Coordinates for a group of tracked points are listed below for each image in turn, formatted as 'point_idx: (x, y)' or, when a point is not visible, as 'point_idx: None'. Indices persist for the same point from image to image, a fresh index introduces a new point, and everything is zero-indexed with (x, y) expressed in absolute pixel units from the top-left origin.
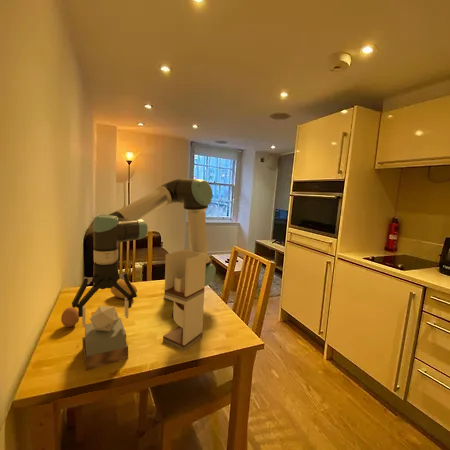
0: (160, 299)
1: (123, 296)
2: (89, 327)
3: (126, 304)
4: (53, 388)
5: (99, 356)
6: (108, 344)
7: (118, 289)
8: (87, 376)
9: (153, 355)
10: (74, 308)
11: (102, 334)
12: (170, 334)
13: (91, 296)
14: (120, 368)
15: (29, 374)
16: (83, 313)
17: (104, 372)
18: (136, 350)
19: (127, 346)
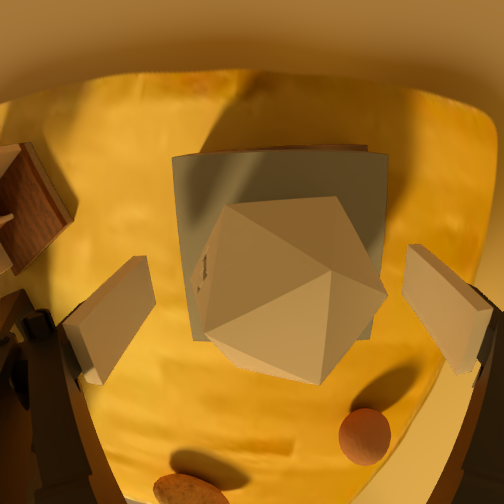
0: None
1: (195, 482)
2: None
3: (94, 306)
4: (438, 107)
5: (311, 145)
6: (273, 150)
7: (79, 457)
8: (348, 109)
9: (111, 141)
10: (357, 459)
11: None
12: (42, 226)
13: (483, 406)
14: (233, 103)
15: (485, 211)
16: (464, 285)
17: (291, 104)
18: (162, 194)
19: None
